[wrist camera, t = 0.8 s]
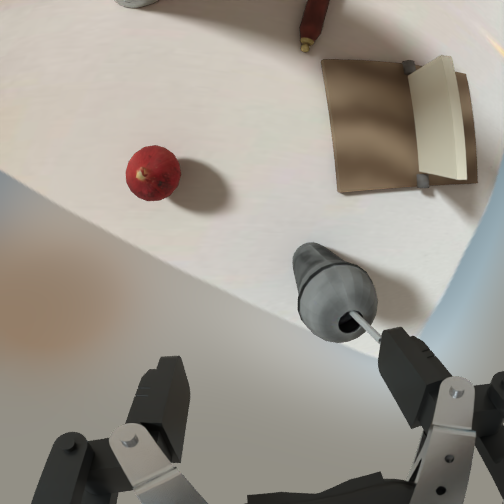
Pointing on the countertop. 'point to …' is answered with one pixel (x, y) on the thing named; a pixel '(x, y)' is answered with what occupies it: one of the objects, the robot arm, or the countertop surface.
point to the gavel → (312, 22)
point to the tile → (438, 119)
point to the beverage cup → (333, 295)
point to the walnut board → (383, 126)
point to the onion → (153, 173)
